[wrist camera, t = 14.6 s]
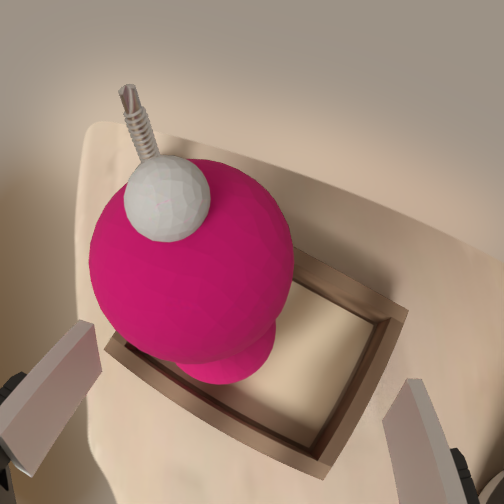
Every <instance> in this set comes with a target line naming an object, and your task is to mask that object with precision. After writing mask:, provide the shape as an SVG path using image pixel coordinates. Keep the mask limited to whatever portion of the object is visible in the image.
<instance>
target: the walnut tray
mask: <svg viewBox="0 0 504 504" xmlns="http://www.w3.org/2000/svg"><path fill="white" fill-rule="evenodd" d="M293 252H294V270H293V279H292V283H291V287H290V290H289V294H288V297H287V300H286V303H285V305H284V307H283V309H282V312H281V313H280V314H279V316H278V317H277V318H276V335H275V341H274V345H273V349H272V351H271V353H270V355H269V357H268V359H267V360H266V362H265V363H264V364H263V365H262V367H261V368H260V369H258V370H257V371H256V372H255V373H254V374H252V375H251V376H249V377H248V378H246V379H243V380H241V381H238V382H235V383H230V384H219V385H218V384H209V383H206V382H202V381H199V380H197V379H195V378H193V377H191V376H190V375H188V374H187V373H185V372H184V371H183V370H182V369H181V368H179V367H178V366H177V365H176V363H175V362H171V361H166V360H161V359H158V358H156V357H154V356H151V355H149V354H147V353H145V352H142V351H141V350H139V349H138V348H136V347H135V346H134V345H132V344H131V343H129V342H128V341H127V340H125V339H124V338H123V337H122V336H121V335H120V334H119V333H118V332H117V331H115V333H114V334H113V336H112V338H111V339H110V341H109V342H108V344H107V345H106V347H105V348H104V350H105V351H106V352H107V353H108V354H110V355H111V356H112V357H113V358H115V359H116V360H117V361H118V362H120V363H121V364H122V365H123V366H125V367H126V368H127V369H129V370H130V371H131V372H133V373H134V374H135V375H137V376H138V377H139V378H141V379H142V380H143V381H145V382H146V383H147V384H149V385H150V386H152V387H153V388H154V389H156V390H157V391H159V392H160V393H162V394H163V395H164V396H166V397H167V398H169V399H170V400H172V401H173V402H175V403H176V404H178V405H179V406H181V407H182V408H184V409H186V410H187V411H189V412H190V413H192V414H193V415H195V416H197V417H198V418H200V419H201V420H203V421H205V422H206V423H208V424H210V425H211V426H213V427H215V428H217V429H218V430H220V431H222V432H223V433H225V434H227V435H229V436H231V437H232V438H234V439H236V440H238V441H240V442H242V443H243V444H245V445H247V446H249V447H251V448H253V449H255V450H257V451H259V452H261V453H263V454H265V455H267V456H269V457H271V458H273V459H275V460H277V461H279V462H281V463H283V464H286V465H288V466H290V467H292V468H295V469H297V470H299V471H301V472H304V473H306V474H308V475H311V476H313V477H316V478H318V479H321V480H324V478H325V477H326V475H327V474H328V472H329V471H330V469H331V467H332V466H333V464H334V463H335V461H336V459H337V458H338V456H339V455H340V453H341V451H342V450H343V448H344V446H345V445H346V443H347V441H348V439H349V438H350V436H351V434H352V432H353V431H354V429H355V427H356V425H357V423H358V422H359V420H360V418H361V416H362V414H363V412H364V410H365V408H366V407H367V405H368V403H369V401H370V399H371V397H372V395H373V393H374V391H375V389H376V387H377V384H378V382H379V380H380V378H381V376H382V374H383V372H384V370H385V367H386V365H387V363H388V361H389V358H390V356H391V354H392V351H393V349H394V347H395V344H396V342H397V339H398V337H399V335H400V332H401V330H402V327H403V324H404V322H405V319H406V317H407V314H408V311H409V310H407V309H405V308H404V307H402V306H400V305H398V304H397V303H395V302H393V301H391V300H389V299H388V298H386V297H384V296H382V295H381V294H379V293H377V292H375V291H373V290H372V289H370V288H368V287H366V286H365V285H363V284H361V283H359V282H357V281H356V280H354V279H352V278H350V277H348V276H347V275H345V274H343V273H341V272H339V271H337V270H336V269H334V268H332V267H330V266H328V265H327V264H325V263H323V262H321V261H319V260H317V259H316V258H314V257H312V256H310V255H308V254H306V253H304V252H303V251H301V250H299V249H297V248H295V247H293Z"/></svg>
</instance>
